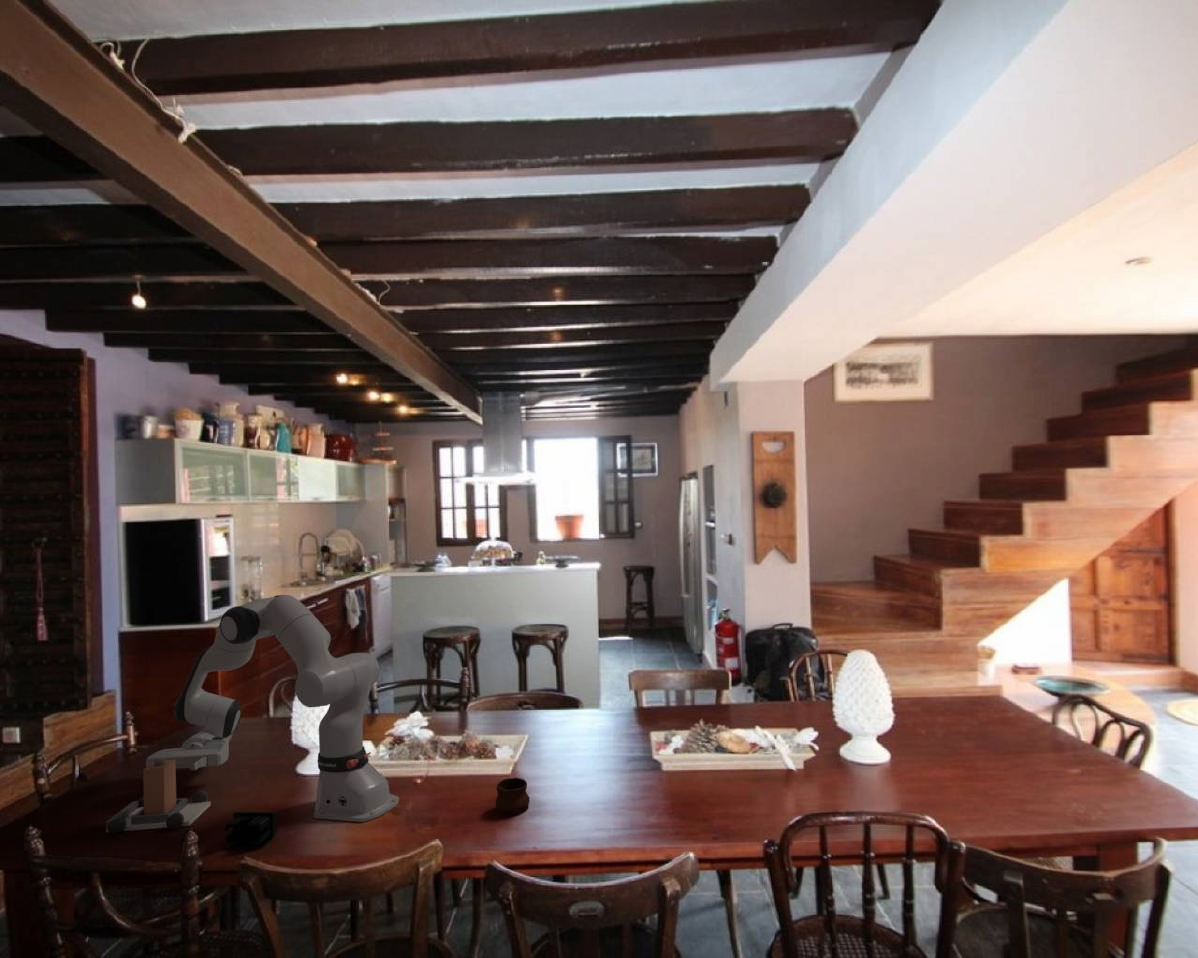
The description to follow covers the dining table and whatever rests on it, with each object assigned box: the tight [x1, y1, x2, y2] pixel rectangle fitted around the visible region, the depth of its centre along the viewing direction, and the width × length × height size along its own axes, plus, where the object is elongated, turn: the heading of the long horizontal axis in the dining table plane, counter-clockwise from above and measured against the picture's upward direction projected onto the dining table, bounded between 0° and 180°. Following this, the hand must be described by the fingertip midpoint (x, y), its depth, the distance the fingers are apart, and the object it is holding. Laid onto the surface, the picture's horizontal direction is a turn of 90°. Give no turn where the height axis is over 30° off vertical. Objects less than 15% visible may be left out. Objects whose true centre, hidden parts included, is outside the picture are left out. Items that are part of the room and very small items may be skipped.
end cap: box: [224, 811, 280, 850], centre depth 168 cm, size 10×7×7 cm
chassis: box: [105, 789, 212, 835], centre depth 183 cm, size 20×15×4 cm
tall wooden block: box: [142, 758, 177, 815], centre depth 183 cm, size 6×5×14 cm
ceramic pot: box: [488, 777, 530, 817], centre depth 180 cm, size 18×18×7 cm
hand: (174, 768), depth 191 cm, fingers open, 8 cm apart
